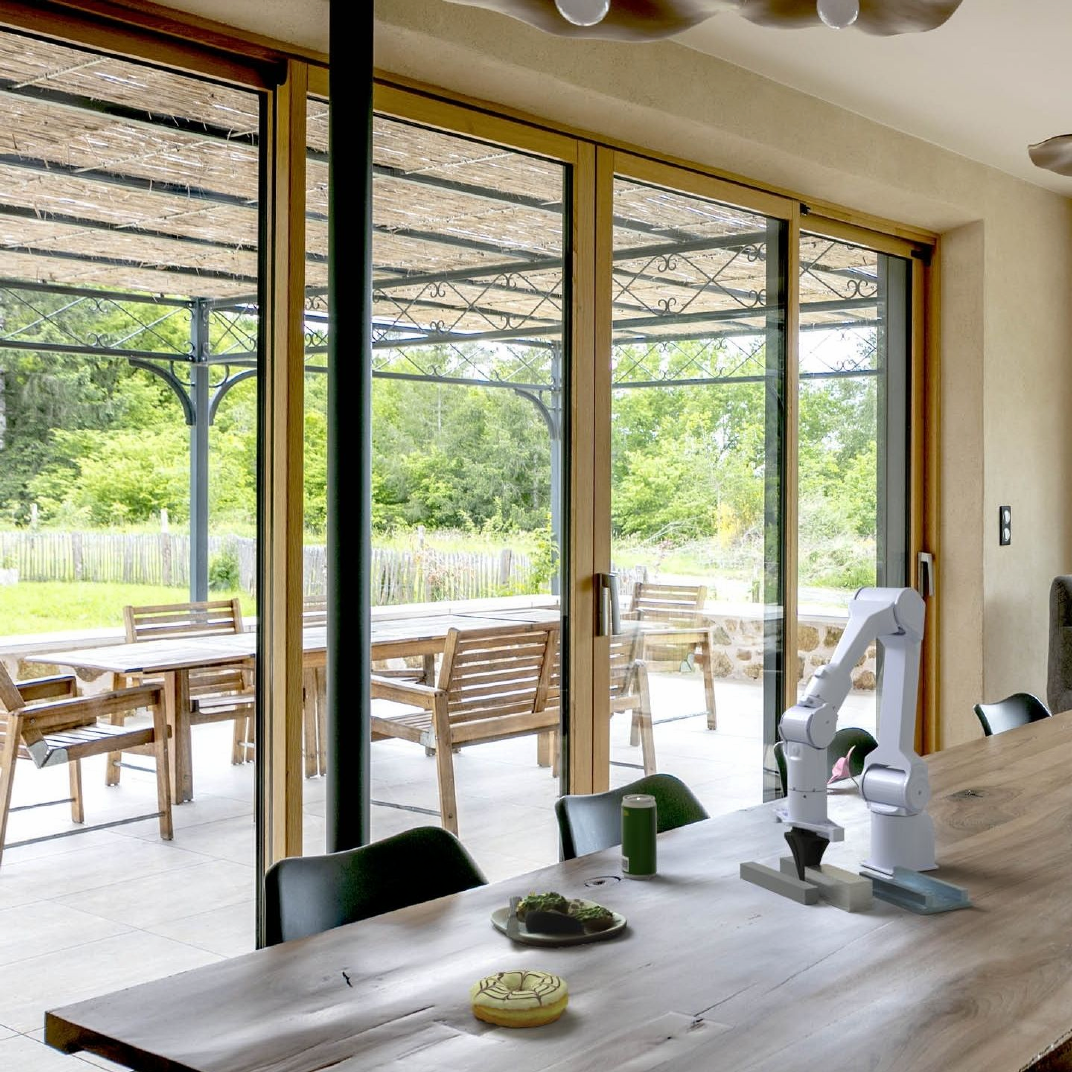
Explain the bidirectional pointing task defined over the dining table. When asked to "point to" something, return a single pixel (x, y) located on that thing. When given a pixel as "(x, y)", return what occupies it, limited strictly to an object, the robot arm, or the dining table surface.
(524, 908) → the salad plate
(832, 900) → the rectangular block
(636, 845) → the beer can
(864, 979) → the dining table surface
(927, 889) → the cradle
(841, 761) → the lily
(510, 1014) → the decorated donut
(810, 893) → the grey bars
